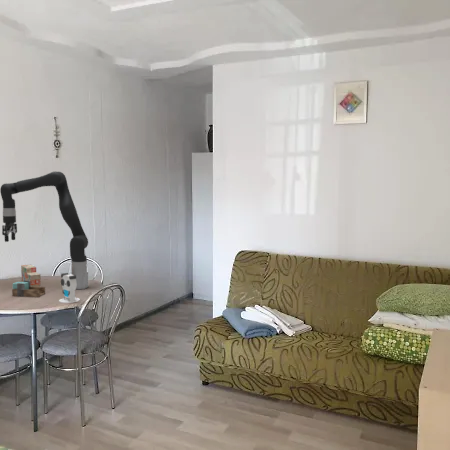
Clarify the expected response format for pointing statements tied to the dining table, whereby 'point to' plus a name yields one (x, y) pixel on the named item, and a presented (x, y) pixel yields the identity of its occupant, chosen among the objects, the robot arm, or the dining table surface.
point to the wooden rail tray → (28, 293)
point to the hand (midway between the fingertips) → (10, 240)
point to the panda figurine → (68, 288)
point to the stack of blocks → (30, 275)
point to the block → (21, 282)
